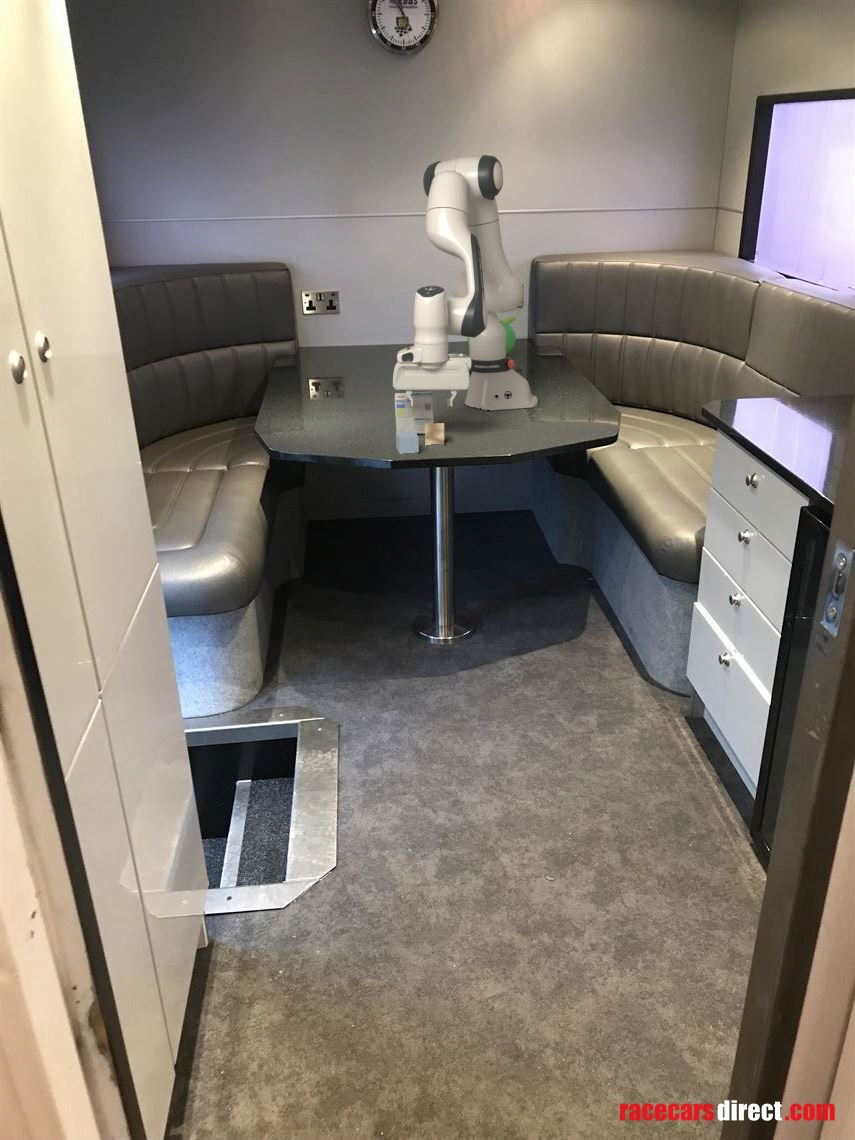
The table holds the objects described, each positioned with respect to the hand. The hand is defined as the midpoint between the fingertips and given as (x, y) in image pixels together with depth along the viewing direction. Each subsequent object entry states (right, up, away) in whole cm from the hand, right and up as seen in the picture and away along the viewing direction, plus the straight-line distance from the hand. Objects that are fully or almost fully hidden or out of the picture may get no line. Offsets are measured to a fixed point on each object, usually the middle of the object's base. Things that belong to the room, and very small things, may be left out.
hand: (431, 406), depth 232 cm
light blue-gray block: (-6, -13, -2) cm, 14 cm away
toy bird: (+23, +38, +102) cm, 111 cm away
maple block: (+1, -9, +5) cm, 10 cm away
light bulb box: (-5, -5, +15) cm, 16 cm away
